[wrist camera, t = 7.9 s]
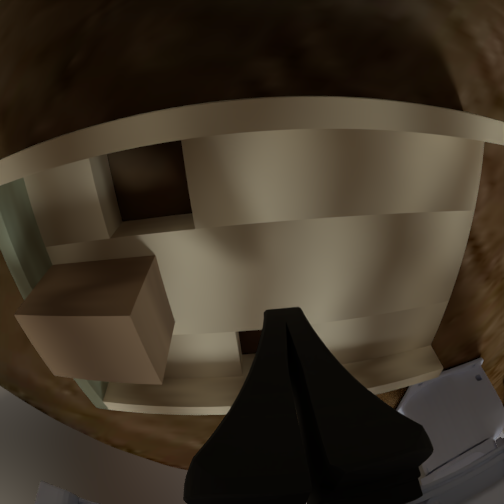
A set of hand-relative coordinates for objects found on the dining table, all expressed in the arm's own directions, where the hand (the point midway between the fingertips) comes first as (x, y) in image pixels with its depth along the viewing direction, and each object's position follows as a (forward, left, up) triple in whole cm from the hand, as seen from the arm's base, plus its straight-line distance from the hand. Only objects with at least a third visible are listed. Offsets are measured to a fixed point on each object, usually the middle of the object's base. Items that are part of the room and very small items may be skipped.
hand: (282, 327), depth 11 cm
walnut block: (+8, 0, -3) cm, 9 cm away
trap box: (0, 0, -5) cm, 5 cm away
